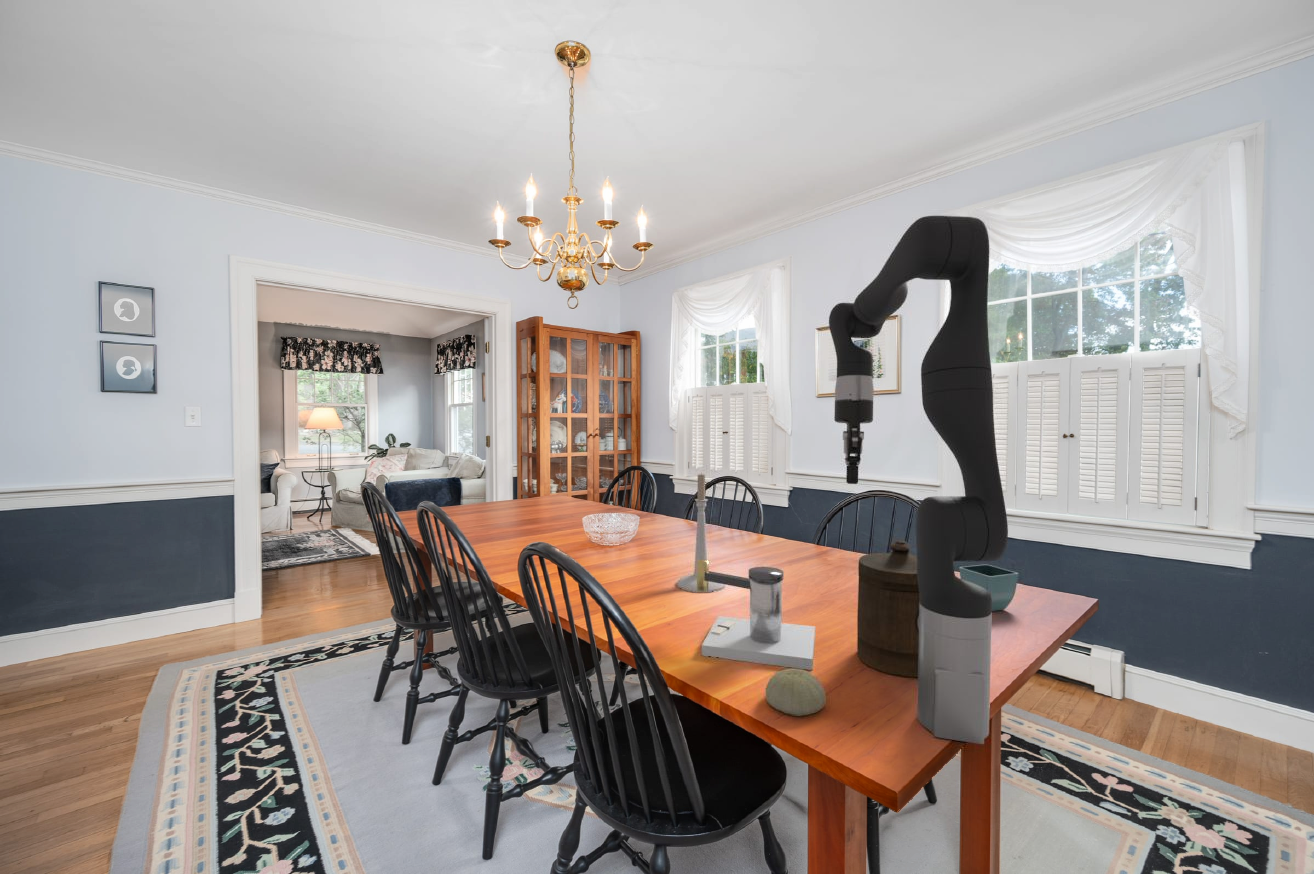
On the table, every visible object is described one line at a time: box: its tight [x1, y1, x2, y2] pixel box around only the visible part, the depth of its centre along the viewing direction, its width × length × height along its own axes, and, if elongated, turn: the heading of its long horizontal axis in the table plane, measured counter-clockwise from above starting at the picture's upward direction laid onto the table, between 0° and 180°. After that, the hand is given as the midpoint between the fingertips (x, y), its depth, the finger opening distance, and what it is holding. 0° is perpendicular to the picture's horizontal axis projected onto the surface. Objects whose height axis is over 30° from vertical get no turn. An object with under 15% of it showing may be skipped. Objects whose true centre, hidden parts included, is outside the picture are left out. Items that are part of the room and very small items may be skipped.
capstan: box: [697, 559, 785, 642], centre depth 111 cm, size 18×7×13 cm, turn 55°
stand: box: [701, 615, 816, 671], centre depth 109 cm, size 16×20×2 cm
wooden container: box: [856, 539, 919, 678], centre depth 103 cm, size 15×15×22 cm
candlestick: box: [676, 473, 726, 593], centre depth 148 cm, size 13×13×30 cm
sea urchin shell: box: [765, 668, 827, 717], centre depth 87 cm, size 9×8×8 cm
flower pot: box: [958, 563, 1019, 612], centre depth 131 cm, size 9×9×9 cm
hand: (852, 483), depth 115 cm, fingers closed
